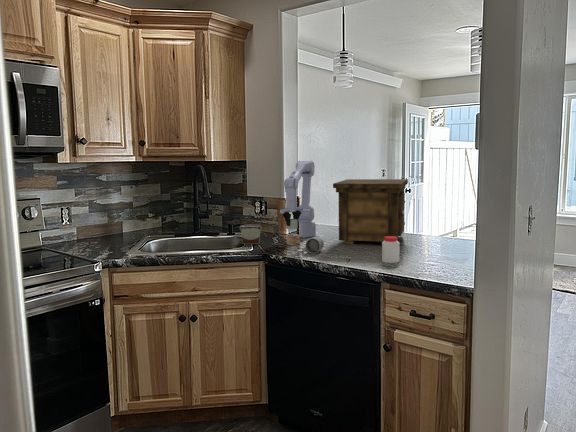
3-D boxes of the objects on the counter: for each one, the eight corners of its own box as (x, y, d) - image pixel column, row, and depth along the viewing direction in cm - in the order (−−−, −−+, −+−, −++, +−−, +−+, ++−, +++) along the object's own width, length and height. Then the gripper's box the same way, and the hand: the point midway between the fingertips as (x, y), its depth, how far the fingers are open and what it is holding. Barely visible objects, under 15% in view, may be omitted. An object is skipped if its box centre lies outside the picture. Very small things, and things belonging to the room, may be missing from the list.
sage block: (292, 227, 264) (292, 218, 264) (297, 228, 261) (297, 219, 260) (285, 228, 262) (285, 219, 261) (291, 229, 258) (290, 220, 257)
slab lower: (294, 243, 265) (294, 238, 264) (299, 244, 261) (299, 239, 260) (286, 244, 262) (286, 239, 262) (292, 245, 258) (292, 241, 258)
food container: (263, 241, 269) (263, 224, 268) (262, 243, 263) (261, 225, 262) (242, 241, 270) (241, 224, 269) (239, 243, 264) (239, 226, 263)
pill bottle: (379, 259, 220) (379, 235, 219) (396, 258, 221) (396, 235, 219) (384, 263, 212) (384, 238, 211) (401, 262, 213) (402, 238, 212)
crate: (347, 233, 288) (346, 179, 284) (407, 236, 277) (407, 179, 273) (333, 245, 255) (333, 183, 251) (401, 248, 244) (401, 183, 240)
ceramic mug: (324, 250, 242) (324, 235, 241) (320, 254, 234) (319, 238, 233) (304, 250, 246) (304, 235, 245) (299, 253, 238) (299, 238, 237)
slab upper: (293, 238, 264) (293, 234, 264) (299, 239, 261) (299, 235, 260) (286, 239, 261) (286, 235, 261) (292, 240, 258) (292, 236, 257)
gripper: (296, 198, 267) (297, 223, 268) (276, 201, 258) (276, 226, 259) (305, 199, 261) (305, 224, 263) (284, 201, 252) (285, 227, 254)
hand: (291, 225), depth 261 cm, fingers closed on sage block, 4 cm apart
